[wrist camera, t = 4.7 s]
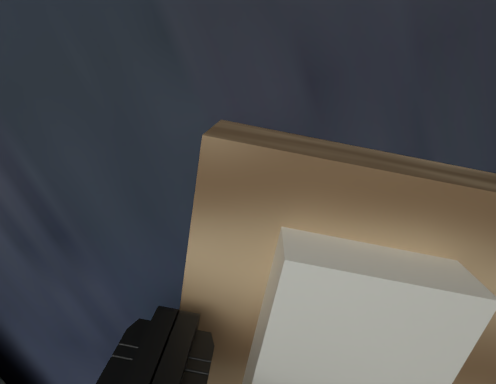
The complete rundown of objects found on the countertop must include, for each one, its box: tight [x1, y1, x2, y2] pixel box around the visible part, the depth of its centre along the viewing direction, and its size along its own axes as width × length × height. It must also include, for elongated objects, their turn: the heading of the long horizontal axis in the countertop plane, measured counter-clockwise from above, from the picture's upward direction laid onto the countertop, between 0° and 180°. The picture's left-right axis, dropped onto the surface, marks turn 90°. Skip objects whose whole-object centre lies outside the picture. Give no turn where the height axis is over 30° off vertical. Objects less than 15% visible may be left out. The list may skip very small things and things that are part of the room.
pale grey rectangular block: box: [242, 227, 496, 384], centre depth 11 cm, size 9×6×2 cm, turn 169°
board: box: [179, 120, 496, 384], centre depth 13 cm, size 14×14×4 cm
